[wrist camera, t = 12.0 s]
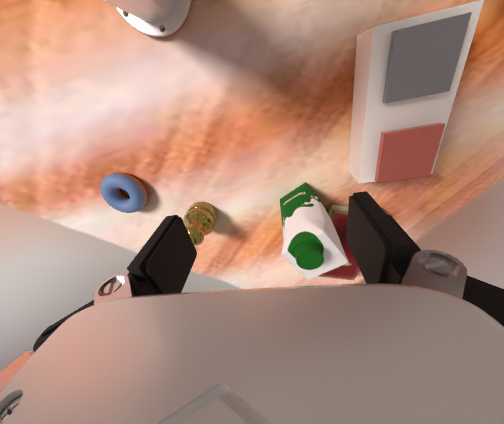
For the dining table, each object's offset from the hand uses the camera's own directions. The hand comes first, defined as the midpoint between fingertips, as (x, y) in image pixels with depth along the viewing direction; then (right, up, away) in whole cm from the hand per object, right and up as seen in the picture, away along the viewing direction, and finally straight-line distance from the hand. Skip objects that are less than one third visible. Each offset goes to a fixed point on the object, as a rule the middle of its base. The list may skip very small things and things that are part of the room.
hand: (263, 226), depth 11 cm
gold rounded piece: (-13, 0, +40) cm, 42 cm away
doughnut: (-30, +6, +38) cm, 49 cm away
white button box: (+23, +19, +24) cm, 39 cm away
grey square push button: (+22, +24, +20) cm, 38 cm away
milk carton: (+11, +3, +36) cm, 37 cm away
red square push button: (+24, +13, +26) cm, 38 cm away
